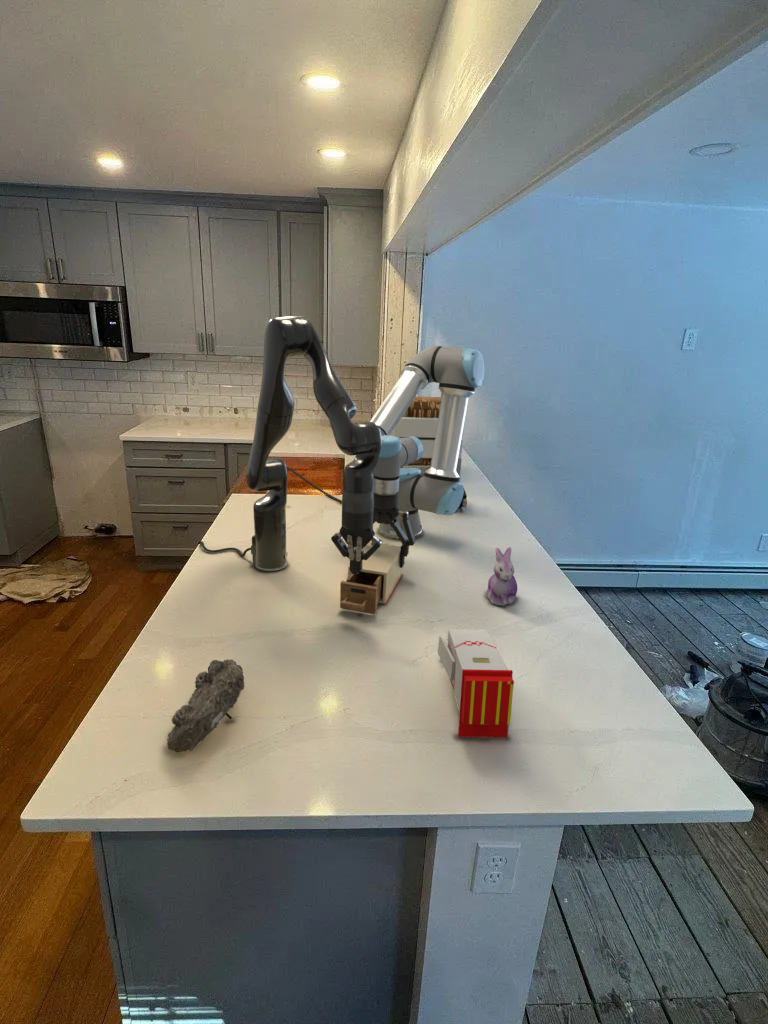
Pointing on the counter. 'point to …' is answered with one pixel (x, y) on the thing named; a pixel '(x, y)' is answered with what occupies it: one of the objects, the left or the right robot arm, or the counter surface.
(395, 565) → the cabinet
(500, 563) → the figurine
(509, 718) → the toy
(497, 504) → the counter surface
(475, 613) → the counter surface
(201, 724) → the fossil
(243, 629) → the counter surface
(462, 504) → the figurine character
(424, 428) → the grey slatted crate
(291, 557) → the counter surface
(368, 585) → the drawer
